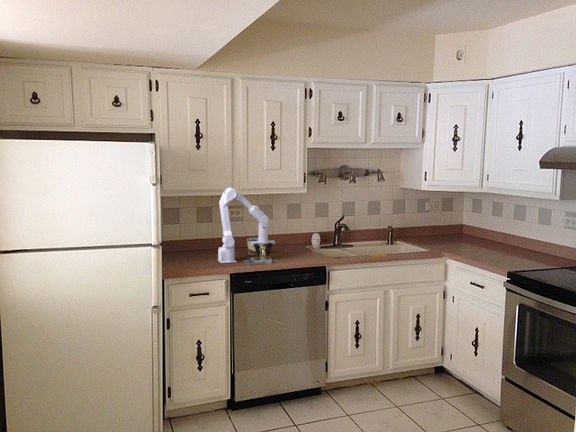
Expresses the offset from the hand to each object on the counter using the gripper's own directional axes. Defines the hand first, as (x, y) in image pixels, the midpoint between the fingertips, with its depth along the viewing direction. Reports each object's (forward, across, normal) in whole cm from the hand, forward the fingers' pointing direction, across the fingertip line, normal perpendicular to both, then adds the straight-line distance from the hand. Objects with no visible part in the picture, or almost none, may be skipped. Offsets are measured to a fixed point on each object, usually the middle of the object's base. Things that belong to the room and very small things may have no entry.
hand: (263, 255), depth 314 cm
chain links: (+2, -6, -7) cm, 10 cm away
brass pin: (+2, 0, 0) cm, 2 cm away
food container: (+3, +3, +19) cm, 19 cm away
